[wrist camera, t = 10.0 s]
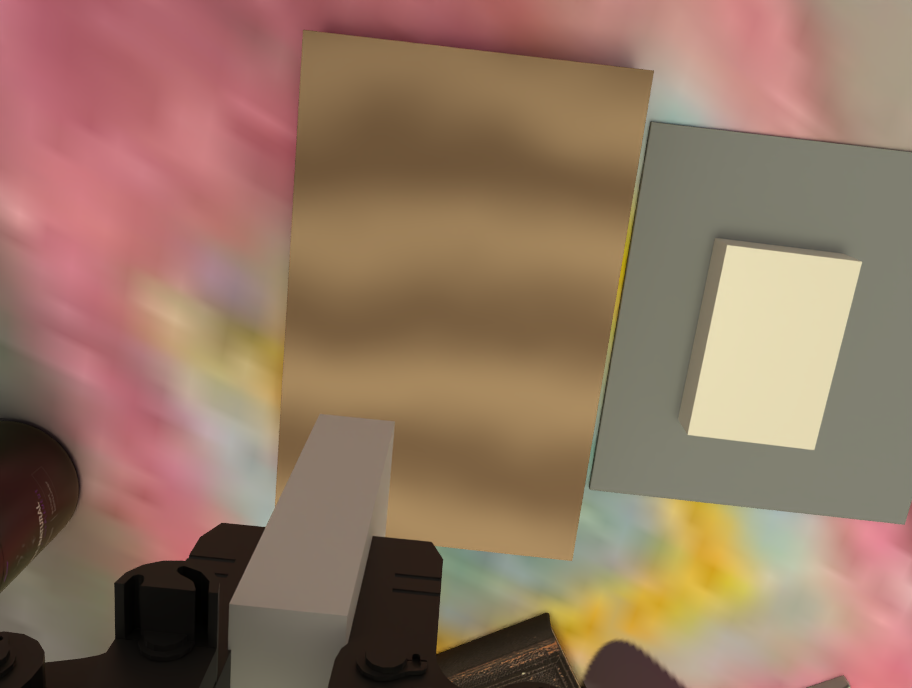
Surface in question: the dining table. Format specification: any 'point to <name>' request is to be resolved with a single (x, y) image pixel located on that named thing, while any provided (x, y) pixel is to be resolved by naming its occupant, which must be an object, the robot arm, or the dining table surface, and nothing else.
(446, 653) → the hardcover book
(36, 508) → the supplement bottle
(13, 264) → the dining table surface
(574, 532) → the brown wooden block
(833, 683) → the hard drive
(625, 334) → the mat
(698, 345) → the cream rectangular block
